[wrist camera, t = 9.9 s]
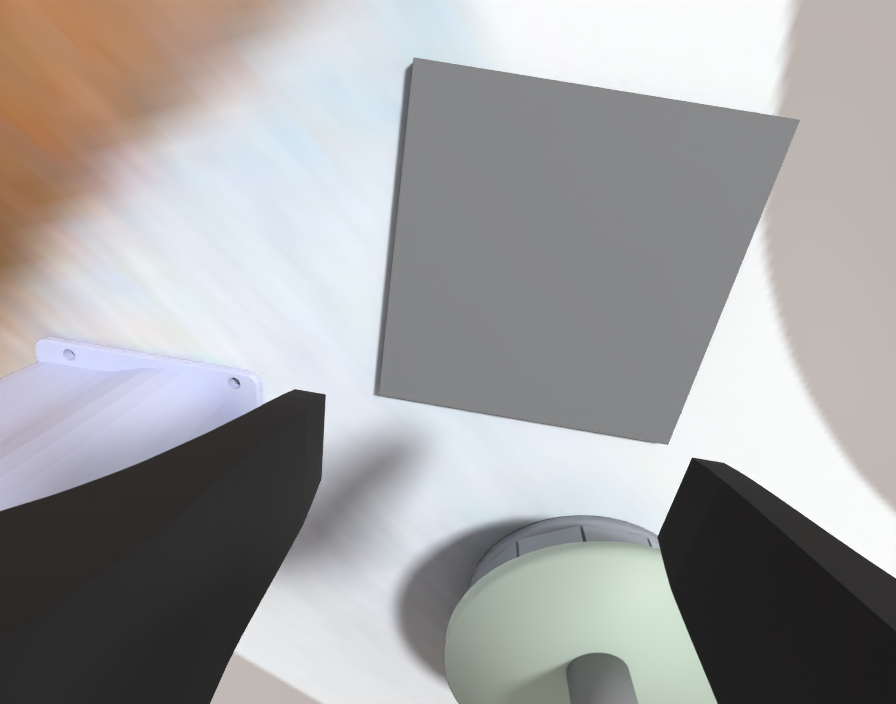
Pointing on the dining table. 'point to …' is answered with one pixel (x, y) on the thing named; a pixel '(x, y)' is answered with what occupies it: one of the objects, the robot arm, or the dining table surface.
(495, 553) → the bowl
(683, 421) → the dining table surface
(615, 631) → the lid
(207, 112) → the dining table surface
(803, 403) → the dining table surface
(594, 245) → the mat
